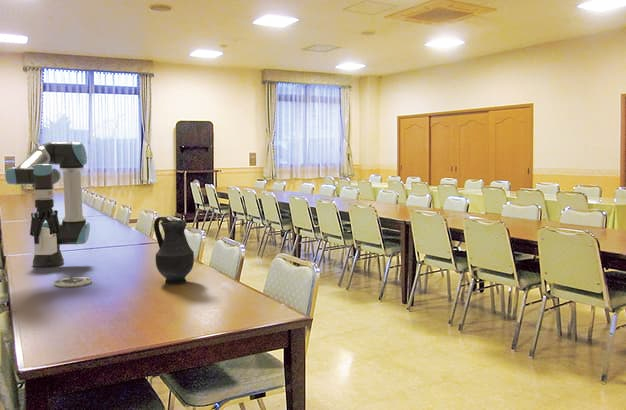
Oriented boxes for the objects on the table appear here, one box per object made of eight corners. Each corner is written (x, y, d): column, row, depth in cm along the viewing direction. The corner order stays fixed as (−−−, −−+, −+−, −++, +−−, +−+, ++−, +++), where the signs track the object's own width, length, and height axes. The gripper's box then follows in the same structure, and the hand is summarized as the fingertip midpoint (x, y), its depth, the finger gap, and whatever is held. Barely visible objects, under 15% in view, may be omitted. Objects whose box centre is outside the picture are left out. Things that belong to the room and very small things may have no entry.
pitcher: (175, 288, 256) (173, 220, 253) (142, 282, 267) (140, 217, 264) (202, 281, 271) (201, 217, 268) (170, 275, 282) (168, 214, 279)
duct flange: (46, 286, 259) (45, 282, 259) (69, 278, 275) (69, 275, 275) (76, 288, 255) (76, 284, 255) (99, 280, 271) (99, 277, 271)
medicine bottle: (41, 252, 263) (40, 225, 262) (57, 252, 264) (56, 225, 263) (34, 254, 256) (33, 228, 255) (51, 254, 257) (50, 228, 255)
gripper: (33, 201, 246) (35, 253, 249) (67, 197, 267) (69, 246, 269) (18, 200, 249) (21, 252, 251) (54, 196, 269) (56, 245, 271)
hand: (46, 249), depth 260 cm, fingers closed on medicine bottle, 9 cm apart
